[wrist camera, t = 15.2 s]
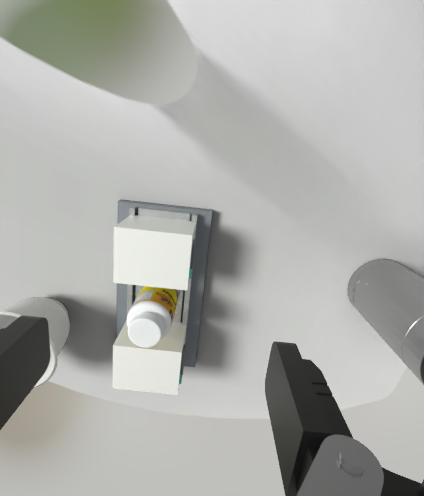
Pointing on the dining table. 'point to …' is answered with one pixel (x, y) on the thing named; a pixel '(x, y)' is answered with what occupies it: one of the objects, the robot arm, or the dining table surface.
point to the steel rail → (177, 314)
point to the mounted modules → (153, 275)
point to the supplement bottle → (151, 315)
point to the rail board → (197, 273)
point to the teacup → (56, 323)
